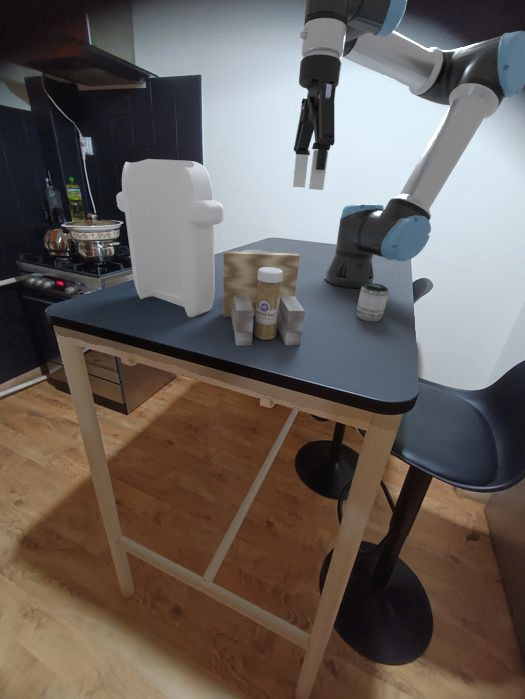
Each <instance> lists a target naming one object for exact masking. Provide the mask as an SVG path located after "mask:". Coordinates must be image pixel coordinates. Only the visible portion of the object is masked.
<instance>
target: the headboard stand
mask: <svg viewBox="0 0 525 699" xmlns="http://www.w3.org/2000/svg"><path fill="white" fill-rule="evenodd" d="M300 256H301V255H299V253H291V252H290V253H288V252H287V253H286V252H285V253H283V252H269V253H264V252H242V251H229V250H224V251H223V256H222V257H223V268H222V269H223V270H222V271H223V276H222V277H223V278H222V279H223V283H222V284H223V285H222V290H223V293H222V296H223V298H222V299H223V300H222V302H223V303H222V304H223V308H222V309H223V310H222V314H223V317H225V318H227V317H228V318H229V317H230V318H231V324H232V330H233V335H234V341H235V346H236V347H238V346H240V347H241V346H252V345H253V334H254V333H253V330H254V329H253V328H254V317H253V316H256V304H257V291H258V278H257V277H258V269H259V268H262V267H273V268H278V269H281V270H282V271H283V276H282V281H281V287H280V300H279V310H278V321H277V328H276V329H277V330H278V332H279V335H280V337H281V338H282V341H283V343H284V345H285V346H297V345H298V346H300V345H302V344H301V343H302V334H303V329H304V328H303V327H304V322H305V321H304V320H305V312H306V311H305V308H303V306H302V305H301V302H299V300H298V299H297V297H296V292H297V291H296V290H297V284H298V272H299V263H300Z"/></svg>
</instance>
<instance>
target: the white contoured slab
mask: <svg viewBox="0 0 525 699" xmlns="http://www.w3.org/2000/svg"><path fill="white" fill-rule="evenodd" d="M121 174H122V175H121V188H122V189H121V191H120V192H118V193H117V194H116V196H115V197H116V198H115V199H116V203H117V204H116V206H117V208H118V210H120V211H121V212H123V213H124V216H125V224H126V230H127V238H128V245H129V255H130V262H131V268H132V276H133V283H134V286H135V290H136V293H137V294H138V297H139V299H140V300H142V299H143V300H144V299H145V298H149V297H155V298H158V299H160V300H163V301H166V302H168V303H171V304H174V305H177V306H180V307H182V308H184V310H185V313H186V315H187V317H189V318H194V317H197V316H199V315H202V314H204V313H207V312H210V311H211V309H212V307H213V305H214V300H215V292H216V291H215V278H216V277H215V275H216V273H215V270H216V269H215V226H216V225H219V224H221V223H222V222H223V221H224V219H225V218H224V215H225V214H224V213H225V211H224V210H225V209H224V208H225V207H224V205H223V204H222V203H221V202H219V201H217V200H215V199H214V198H215V197H214V189H213V184H212V179H211V177H210V174H209V172H208V170H207V169H206V167H205V166H204V165H203V164H201V163H199V162H197V161H192V160H182V159H181V160H179V159H177V160H176V159H156V158H155V159H154V158H147V159H143V160H139V161H135V162H129V161H125V163H124V164H123V168H122V173H121Z"/></svg>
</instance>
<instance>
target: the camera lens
mask: <svg viewBox="0 0 525 699" xmlns="http://www.w3.org/2000/svg"><path fill="white" fill-rule="evenodd" d="M389 294H390V290H389V288H388V287H386V286H385V285H383V284H380V283H376V282H375V283H374V282H373V283H369V284H365V285H363V286H362V287H361V288H360V291H359V297H358V302H357V305H356V316H357V317H358V318H359V319H361V320H362V321H366V322H379V321H381V320H382V317H383V316H384V313H385V309H386V304H387V301H388V297H389Z"/></svg>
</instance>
